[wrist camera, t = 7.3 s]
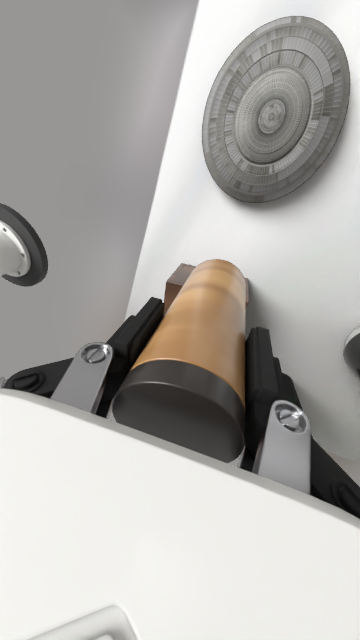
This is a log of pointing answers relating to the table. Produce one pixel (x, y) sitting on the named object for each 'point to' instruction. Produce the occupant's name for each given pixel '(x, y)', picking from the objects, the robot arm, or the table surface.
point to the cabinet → (179, 280)
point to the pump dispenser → (353, 352)
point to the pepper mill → (194, 368)
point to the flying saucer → (276, 109)
